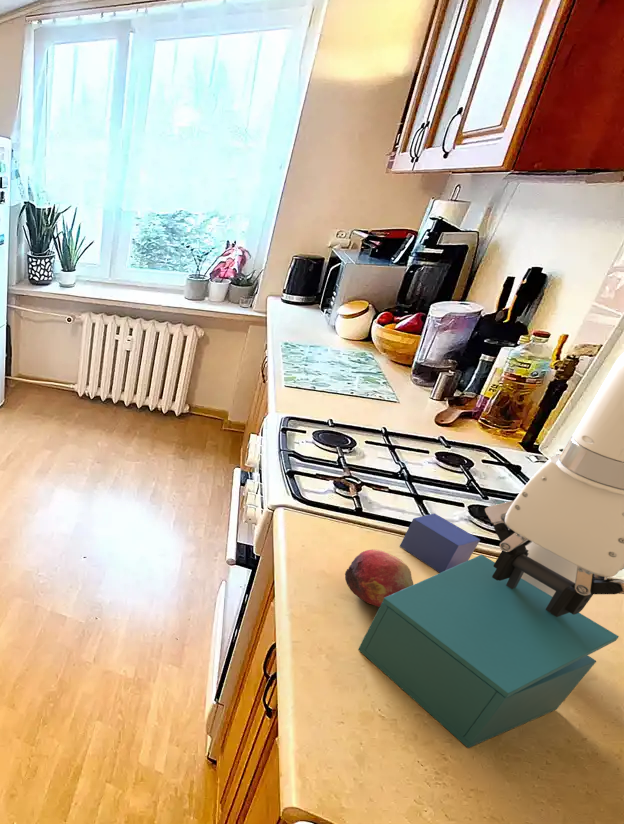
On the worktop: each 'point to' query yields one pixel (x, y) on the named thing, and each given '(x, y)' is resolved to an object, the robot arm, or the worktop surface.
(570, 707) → the worktop surface
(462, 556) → the blue rectangular block
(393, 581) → the fruit
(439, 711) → the teal box base
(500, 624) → the teal box lid
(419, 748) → the worktop surface
